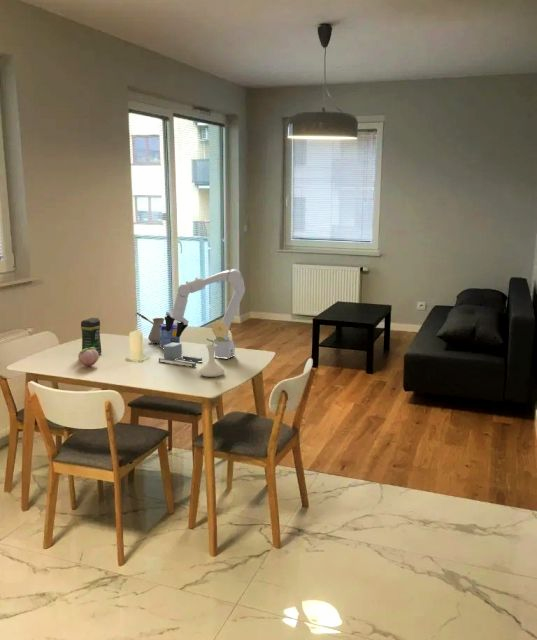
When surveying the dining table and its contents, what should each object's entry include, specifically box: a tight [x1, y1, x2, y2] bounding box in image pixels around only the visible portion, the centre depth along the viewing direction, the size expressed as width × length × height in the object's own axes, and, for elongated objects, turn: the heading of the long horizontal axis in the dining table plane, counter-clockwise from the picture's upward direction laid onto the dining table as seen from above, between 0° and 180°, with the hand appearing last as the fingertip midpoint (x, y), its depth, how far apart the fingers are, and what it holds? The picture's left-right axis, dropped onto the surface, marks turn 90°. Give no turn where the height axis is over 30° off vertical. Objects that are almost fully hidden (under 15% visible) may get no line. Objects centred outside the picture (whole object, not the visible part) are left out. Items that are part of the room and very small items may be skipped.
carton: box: [163, 342, 183, 360], centre depth 300 cm, size 5×8×7 cm, turn 154°
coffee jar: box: [80, 317, 102, 355], centre depth 304 cm, size 10×8×19 cm
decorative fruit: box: [77, 347, 100, 368], centre depth 284 cm, size 9×8×10 cm
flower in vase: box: [198, 319, 229, 378], centre depth 272 cm, size 13×11×25 cm
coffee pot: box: [134, 312, 165, 344], centre depth 333 cm, size 21×12×15 cm, turn 61°
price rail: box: [158, 354, 203, 368], centre depth 294 cm, size 20×10×2 cm, turn 64°
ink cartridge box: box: [159, 322, 181, 349], centre depth 321 cm, size 10×6×14 cm, turn 115°
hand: (172, 333), depth 301 cm, fingers open, 7 cm apart
